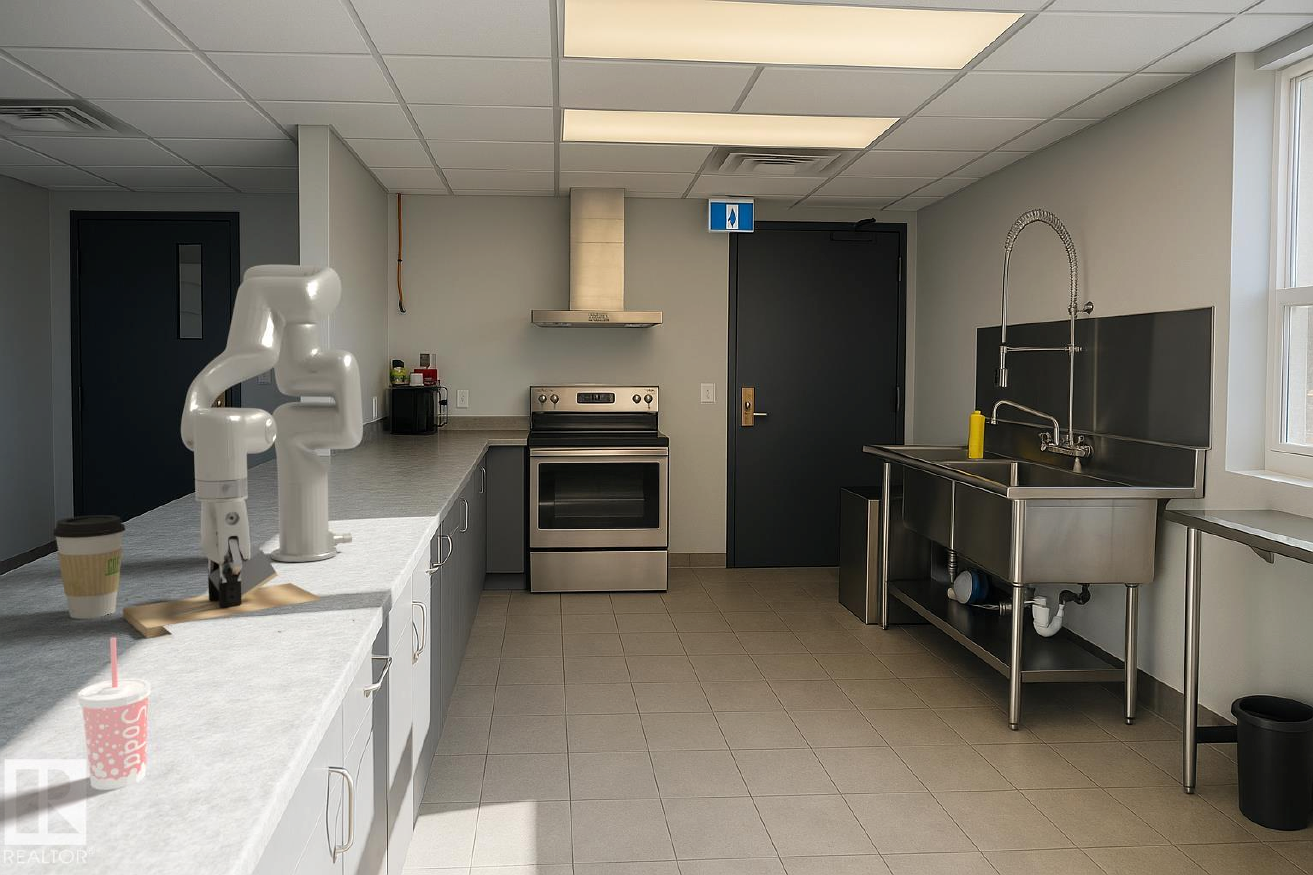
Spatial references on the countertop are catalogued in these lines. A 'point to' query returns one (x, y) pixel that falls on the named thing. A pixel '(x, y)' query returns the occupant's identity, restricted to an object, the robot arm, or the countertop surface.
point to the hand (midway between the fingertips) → (225, 601)
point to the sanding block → (250, 573)
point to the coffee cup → (90, 563)
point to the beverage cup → (115, 728)
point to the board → (210, 608)
